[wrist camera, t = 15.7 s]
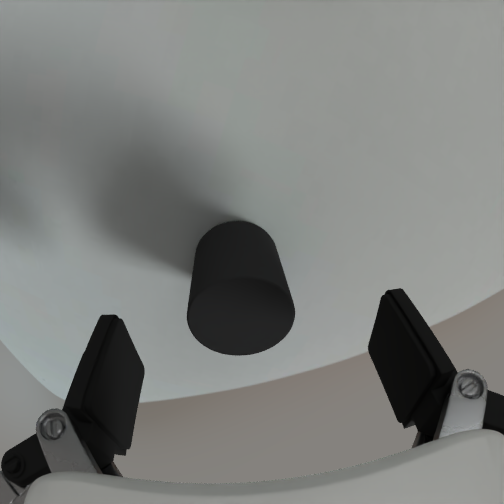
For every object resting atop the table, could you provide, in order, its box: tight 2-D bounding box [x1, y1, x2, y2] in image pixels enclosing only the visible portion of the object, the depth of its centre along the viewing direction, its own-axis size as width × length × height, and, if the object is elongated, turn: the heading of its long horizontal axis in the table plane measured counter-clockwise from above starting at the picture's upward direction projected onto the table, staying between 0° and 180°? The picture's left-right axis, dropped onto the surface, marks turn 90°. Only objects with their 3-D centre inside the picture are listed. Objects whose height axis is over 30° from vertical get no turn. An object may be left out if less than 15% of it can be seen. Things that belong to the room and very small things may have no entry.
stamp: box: [187, 221, 295, 355], centre depth 13 cm, size 4×4×4 cm
